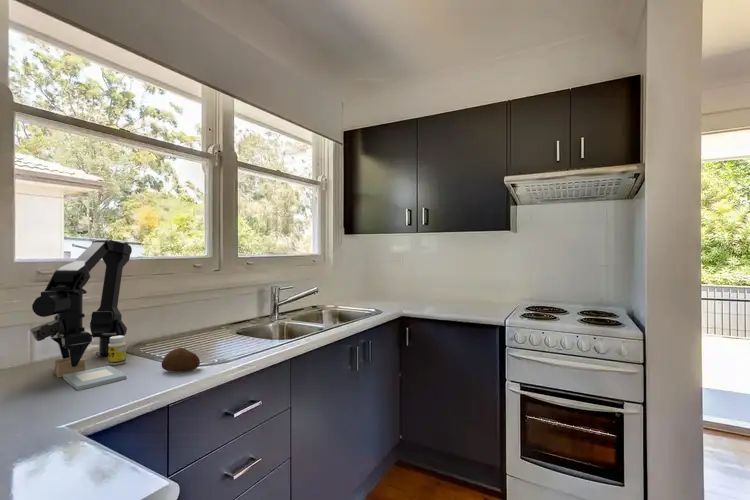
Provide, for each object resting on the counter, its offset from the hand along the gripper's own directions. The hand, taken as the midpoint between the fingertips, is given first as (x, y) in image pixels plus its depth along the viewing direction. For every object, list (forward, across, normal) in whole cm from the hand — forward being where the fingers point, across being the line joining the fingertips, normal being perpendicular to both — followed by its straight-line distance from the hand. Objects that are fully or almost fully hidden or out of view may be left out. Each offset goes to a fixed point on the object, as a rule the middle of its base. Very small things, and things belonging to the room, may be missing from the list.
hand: (69, 363), depth 109 cm
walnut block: (+3, 0, 0) cm, 3 cm away
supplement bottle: (+3, 0, +12) cm, 12 cm away
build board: (+3, +12, +3) cm, 13 cm away
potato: (+3, +24, +21) cm, 32 cm away
